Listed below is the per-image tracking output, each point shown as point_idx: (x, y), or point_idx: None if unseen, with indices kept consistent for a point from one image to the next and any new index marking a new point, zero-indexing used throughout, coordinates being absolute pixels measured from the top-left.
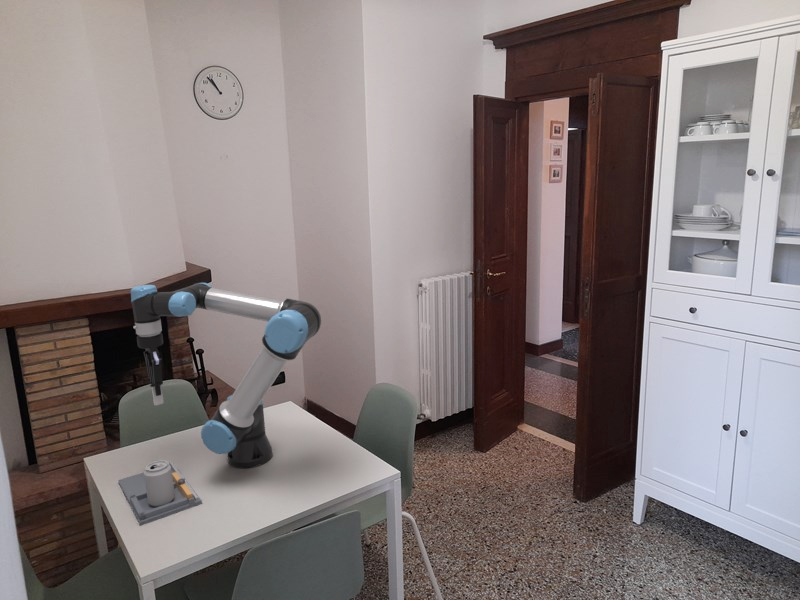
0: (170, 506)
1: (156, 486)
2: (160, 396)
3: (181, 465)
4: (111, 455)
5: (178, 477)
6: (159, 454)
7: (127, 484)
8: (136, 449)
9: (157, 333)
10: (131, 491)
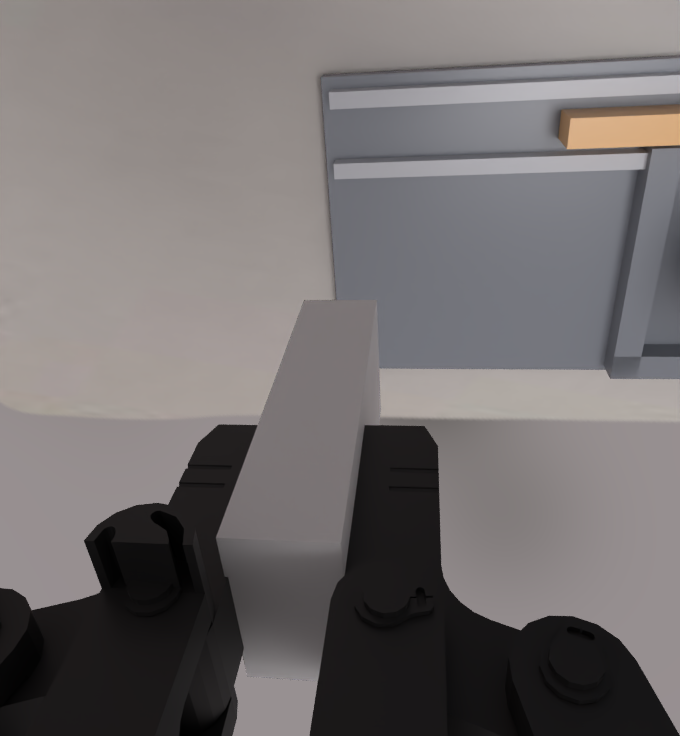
0: None
1: None
2: (369, 400)
3: (349, 25)
4: (6, 334)
5: (664, 124)
6: (106, 117)
7: (420, 344)
8: None
9: None
10: (512, 343)
